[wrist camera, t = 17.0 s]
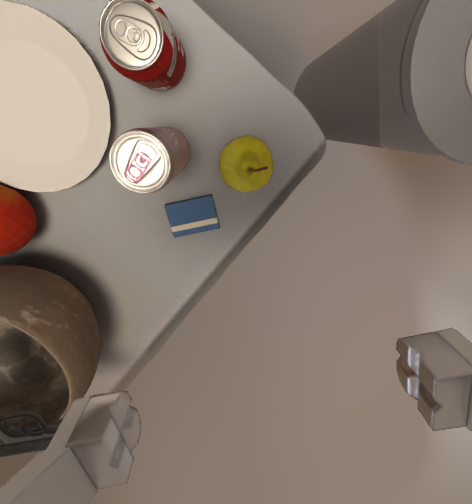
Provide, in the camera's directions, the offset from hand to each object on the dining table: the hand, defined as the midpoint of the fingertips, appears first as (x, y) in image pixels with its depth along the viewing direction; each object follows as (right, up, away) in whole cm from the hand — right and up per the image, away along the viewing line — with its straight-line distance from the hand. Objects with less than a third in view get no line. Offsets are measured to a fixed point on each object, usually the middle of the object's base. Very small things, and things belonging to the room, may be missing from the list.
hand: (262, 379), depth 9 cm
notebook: (-7, +9, +36) cm, 38 cm away
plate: (-27, +22, +30) cm, 46 cm away
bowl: (-33, -6, +42) cm, 53 cm away
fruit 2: (0, +17, +34) cm, 37 cm away
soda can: (-10, +28, +29) cm, 41 cm away
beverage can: (-10, +18, +33) cm, 39 cm away
